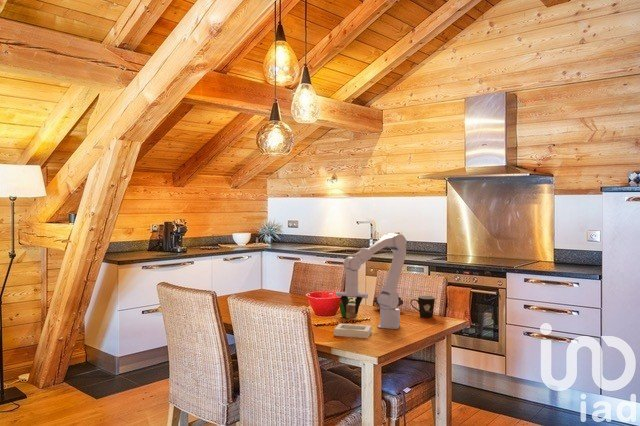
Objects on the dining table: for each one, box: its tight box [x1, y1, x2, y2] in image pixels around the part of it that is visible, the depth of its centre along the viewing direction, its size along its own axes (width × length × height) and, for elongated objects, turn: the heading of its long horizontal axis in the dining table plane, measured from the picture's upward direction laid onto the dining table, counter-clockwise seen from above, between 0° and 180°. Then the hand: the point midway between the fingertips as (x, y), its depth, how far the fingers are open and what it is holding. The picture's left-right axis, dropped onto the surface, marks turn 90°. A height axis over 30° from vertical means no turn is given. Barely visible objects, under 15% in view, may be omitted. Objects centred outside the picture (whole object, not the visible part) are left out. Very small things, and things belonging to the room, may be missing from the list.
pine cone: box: [372, 296, 404, 308], centre depth 283 cm, size 18×10×10 cm, turn 57°
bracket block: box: [346, 303, 358, 320], centre depth 239 cm, size 4×4×6 cm
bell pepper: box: [339, 297, 355, 318], centre depth 267 cm, size 8×8×10 cm
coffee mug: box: [410, 295, 436, 319], centre depth 269 cm, size 12×9×10 cm
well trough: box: [333, 323, 373, 339], centre depth 236 cm, size 15×10×3 cm, turn 75°
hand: (351, 313), depth 239 cm, fingers closed on bracket block, 4 cm apart
